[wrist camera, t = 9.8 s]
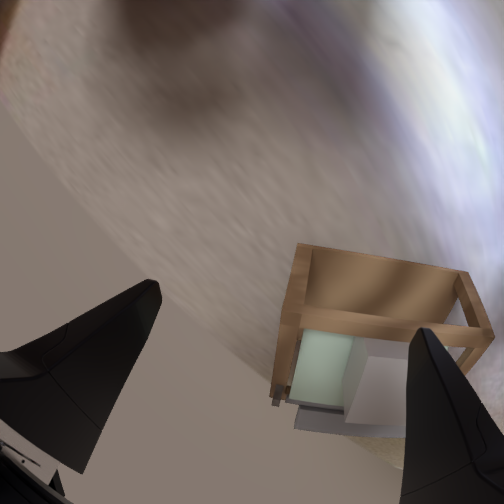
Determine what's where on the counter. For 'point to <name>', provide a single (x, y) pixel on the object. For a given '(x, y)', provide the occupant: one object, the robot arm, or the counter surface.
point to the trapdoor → (328, 388)
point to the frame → (375, 305)
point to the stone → (376, 382)
